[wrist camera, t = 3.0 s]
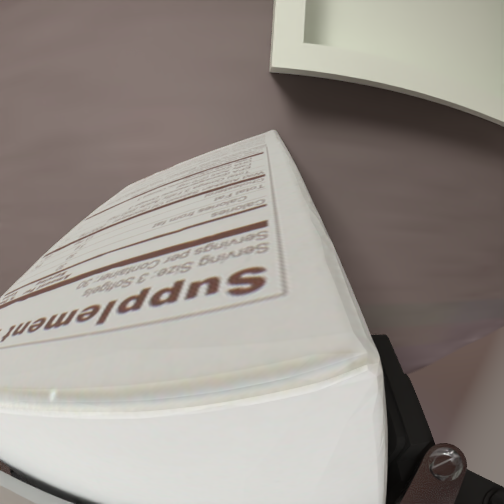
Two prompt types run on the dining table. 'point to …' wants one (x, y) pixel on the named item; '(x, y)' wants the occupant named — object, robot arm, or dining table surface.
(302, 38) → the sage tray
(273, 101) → the dining table surface
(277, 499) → the supplement box
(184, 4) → the dining table surface
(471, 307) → the dining table surface
